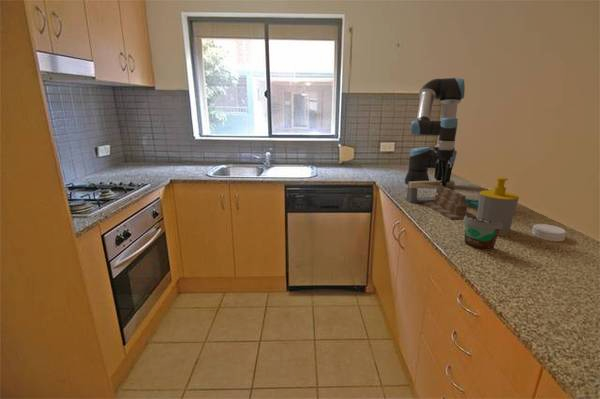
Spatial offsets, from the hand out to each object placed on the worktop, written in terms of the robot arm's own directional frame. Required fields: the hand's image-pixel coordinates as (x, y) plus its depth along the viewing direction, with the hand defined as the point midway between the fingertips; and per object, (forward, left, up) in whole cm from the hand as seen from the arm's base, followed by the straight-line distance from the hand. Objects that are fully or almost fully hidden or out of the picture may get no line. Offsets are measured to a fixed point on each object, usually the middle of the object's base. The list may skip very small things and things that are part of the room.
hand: (439, 193), depth 164 cm
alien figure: (+11, +19, -4) cm, 23 cm away
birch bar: (0, -6, +4) cm, 7 cm away
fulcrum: (+18, -6, -4) cm, 19 cm away
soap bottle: (+42, -2, -4) cm, 42 cm away
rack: (0, -6, -4) cm, 7 cm away
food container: (+56, -19, -4) cm, 59 cm away
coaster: (+51, +14, -4) cm, 53 cm away
